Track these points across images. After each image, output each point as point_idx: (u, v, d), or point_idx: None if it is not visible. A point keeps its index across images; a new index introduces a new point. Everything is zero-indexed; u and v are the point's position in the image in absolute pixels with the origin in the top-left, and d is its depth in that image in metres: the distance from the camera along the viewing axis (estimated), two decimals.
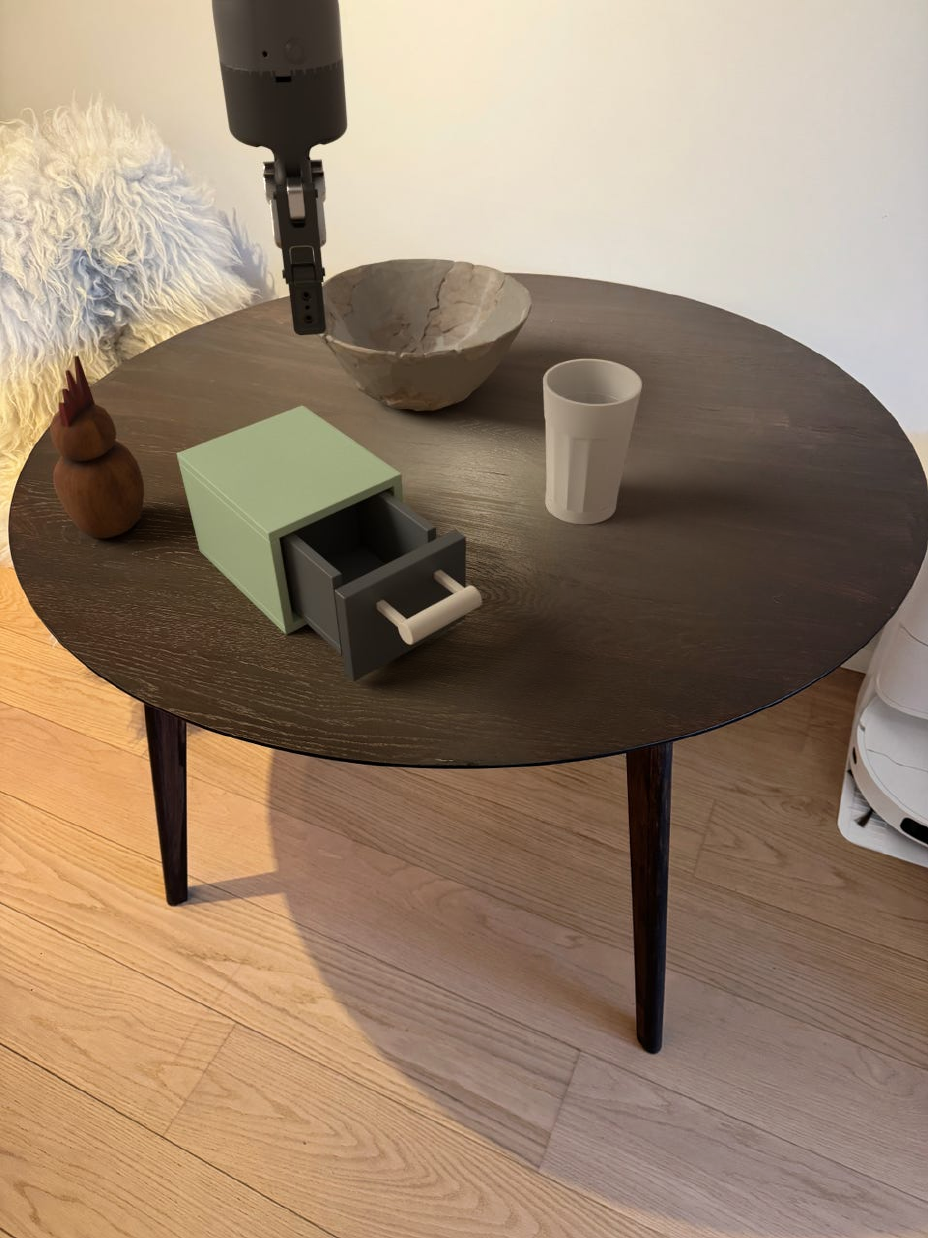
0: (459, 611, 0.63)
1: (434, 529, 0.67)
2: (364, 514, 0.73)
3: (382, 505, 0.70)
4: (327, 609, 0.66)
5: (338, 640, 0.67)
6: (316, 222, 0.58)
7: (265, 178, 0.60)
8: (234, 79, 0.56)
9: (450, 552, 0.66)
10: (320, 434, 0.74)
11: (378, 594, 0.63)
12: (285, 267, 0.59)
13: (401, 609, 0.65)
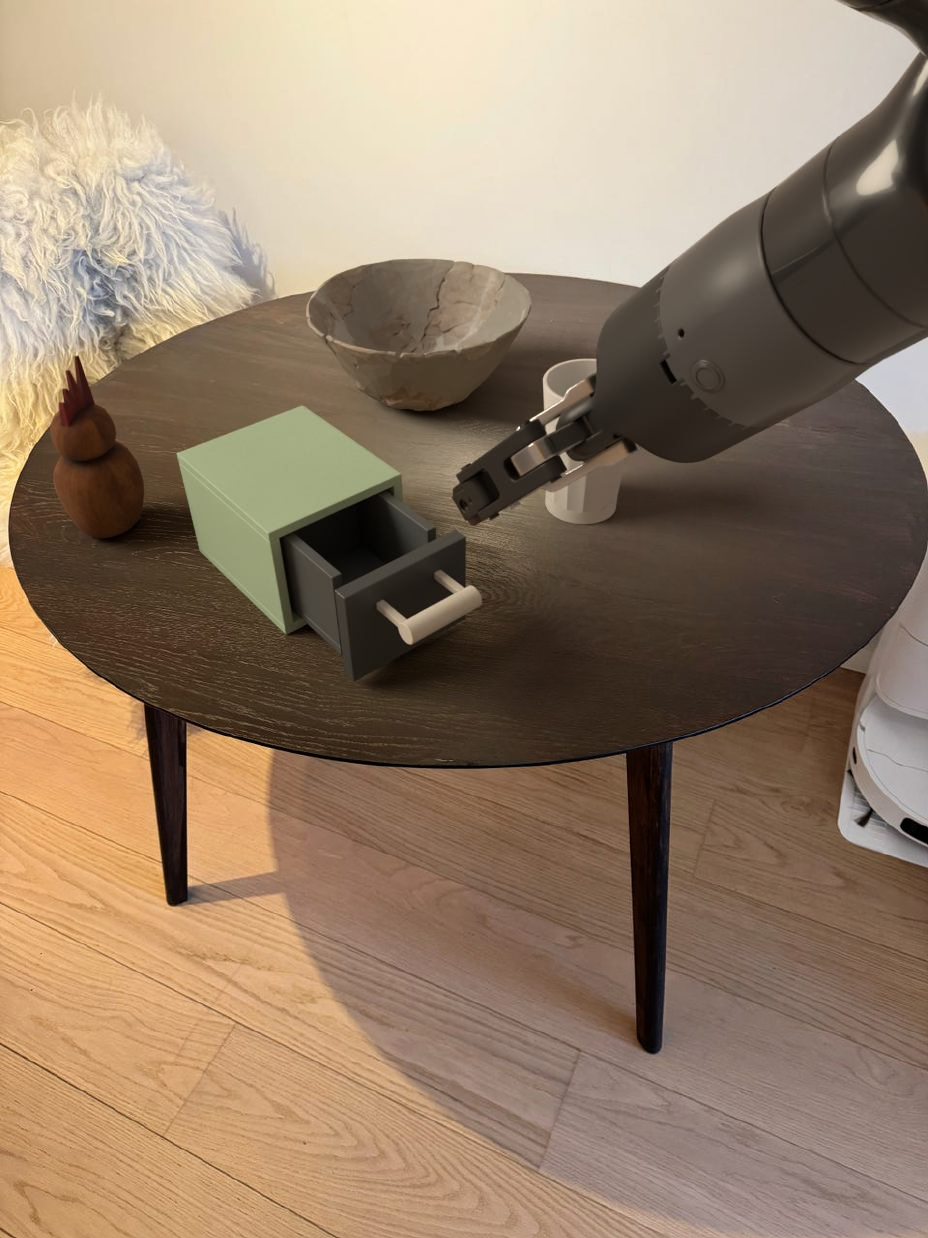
0: (459, 611, 0.63)
1: (434, 529, 0.67)
2: (364, 514, 0.73)
3: (382, 505, 0.70)
4: (327, 609, 0.66)
5: (338, 640, 0.67)
6: (523, 493, 0.40)
7: (587, 379, 0.41)
8: (649, 295, 0.36)
9: (450, 552, 0.66)
10: (320, 434, 0.74)
11: (378, 594, 0.63)
12: (465, 470, 0.42)
13: (401, 609, 0.65)
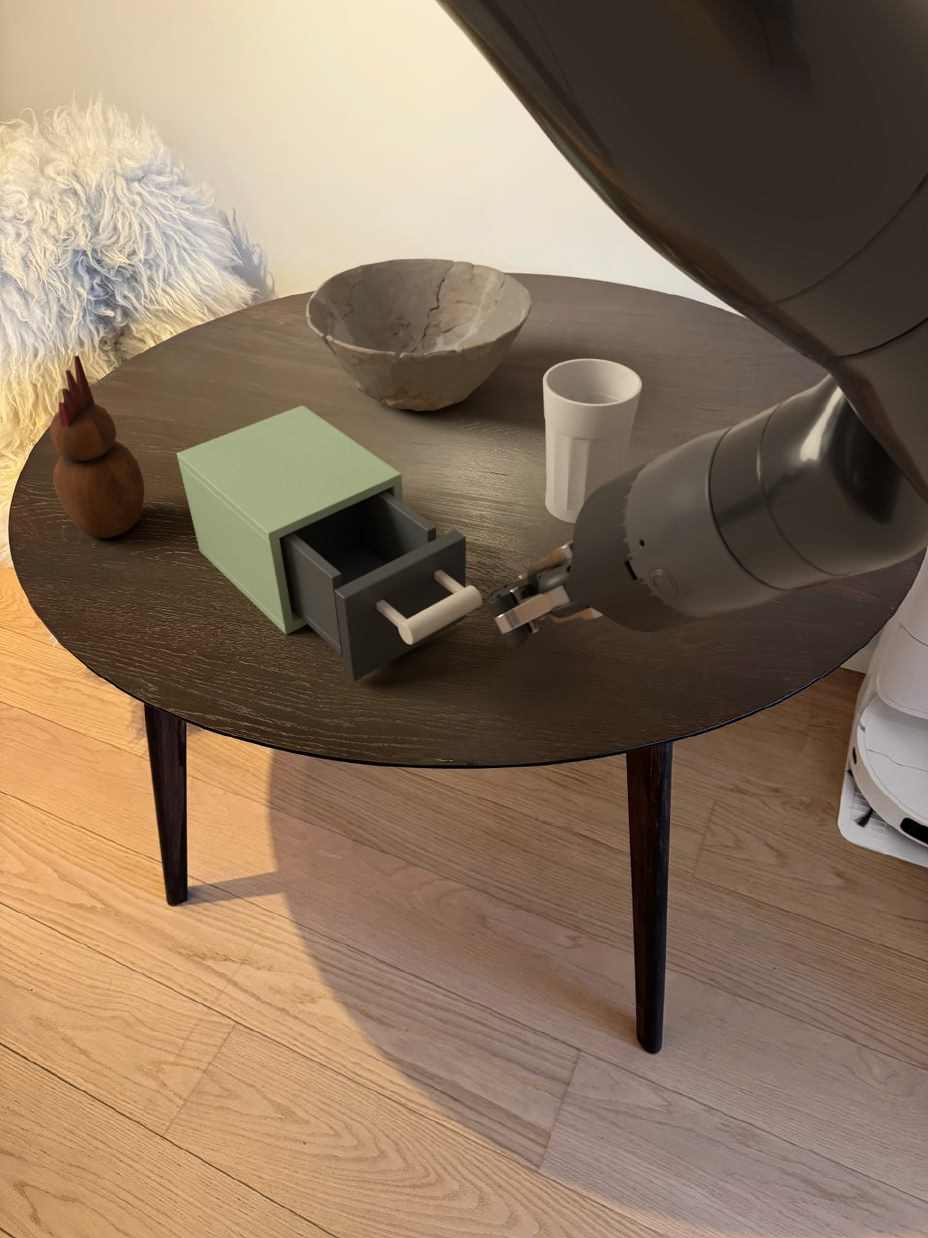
0: (459, 611, 0.63)
1: (434, 529, 0.67)
2: (364, 514, 0.73)
3: (382, 505, 0.70)
4: (327, 609, 0.66)
5: (338, 640, 0.67)
6: None
7: (560, 549, 0.46)
8: (619, 499, 0.40)
9: (450, 552, 0.66)
10: (320, 434, 0.74)
11: (378, 594, 0.63)
12: None
13: (401, 609, 0.65)
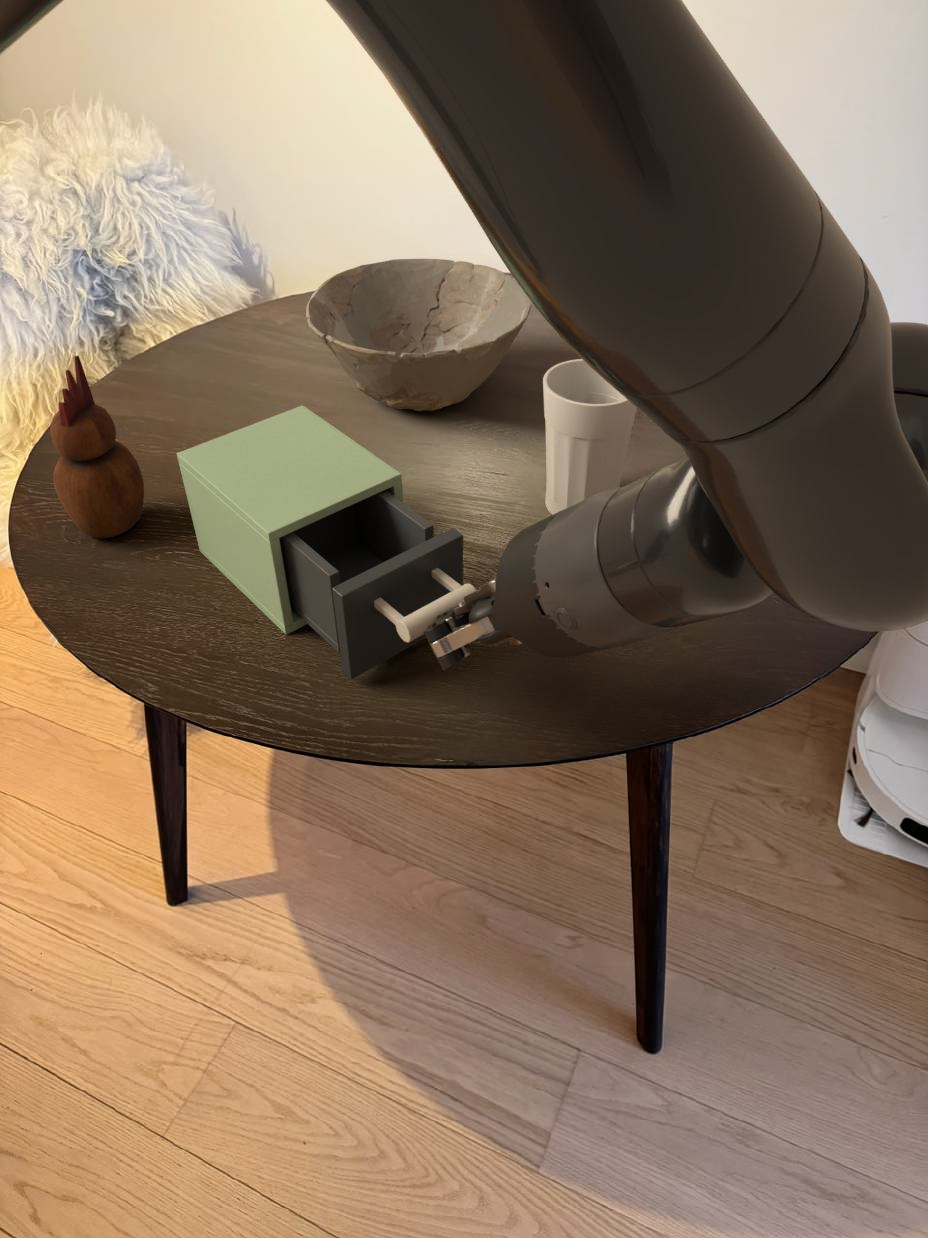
0: None
1: (431, 527, 0.67)
2: (362, 512, 0.74)
3: (380, 503, 0.71)
4: (325, 607, 0.66)
5: (336, 638, 0.67)
6: None
7: (489, 584, 0.53)
8: (531, 545, 0.47)
9: (447, 550, 0.66)
10: (320, 434, 0.74)
11: (375, 592, 0.63)
12: (434, 622, 0.56)
13: (398, 607, 0.66)
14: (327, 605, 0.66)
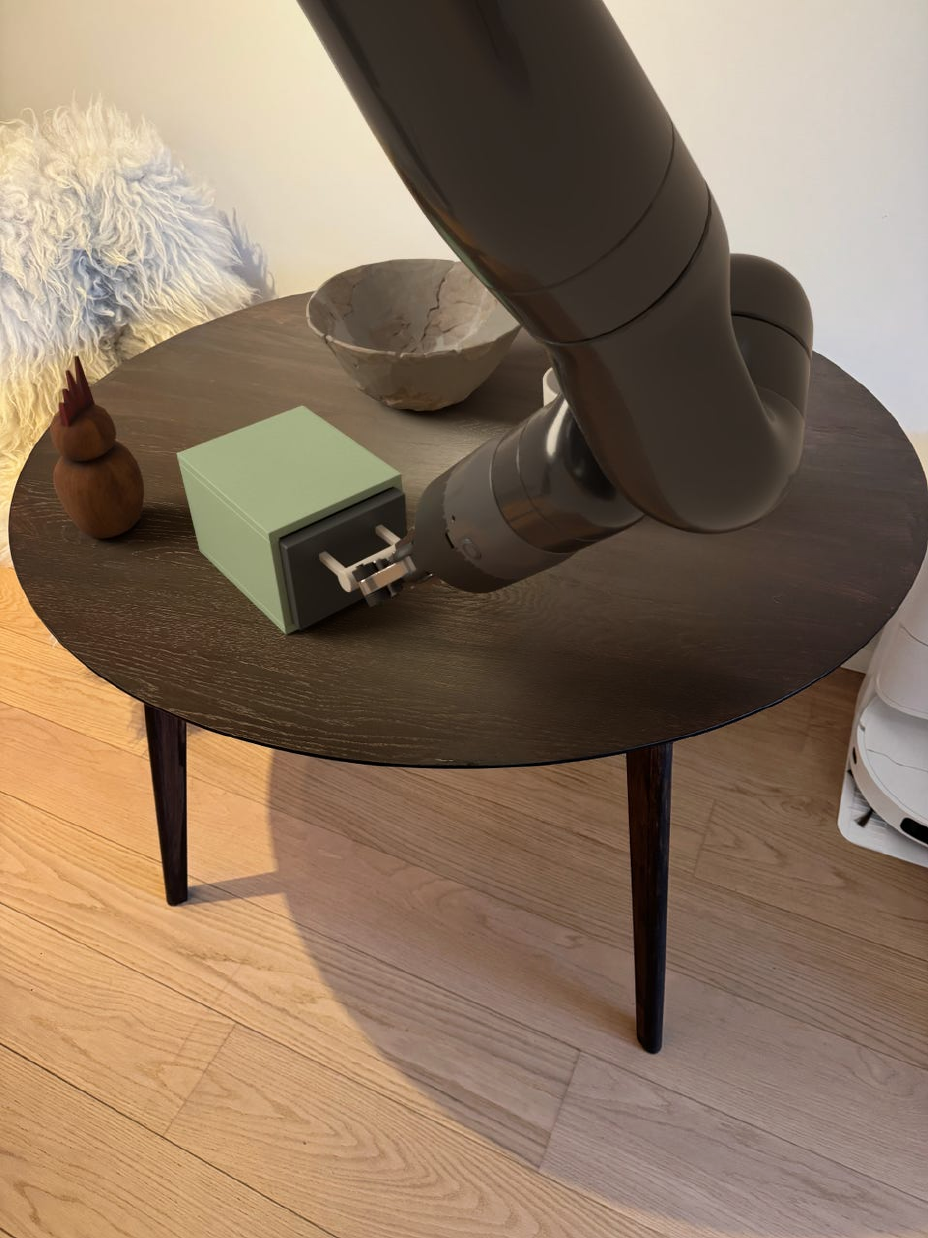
0: None
1: None
2: None
3: None
4: None
5: None
6: None
7: (413, 528, 0.56)
8: (442, 484, 0.51)
9: (390, 508, 0.70)
10: (320, 434, 0.74)
11: (320, 545, 0.67)
12: None
13: (344, 562, 0.69)
14: None
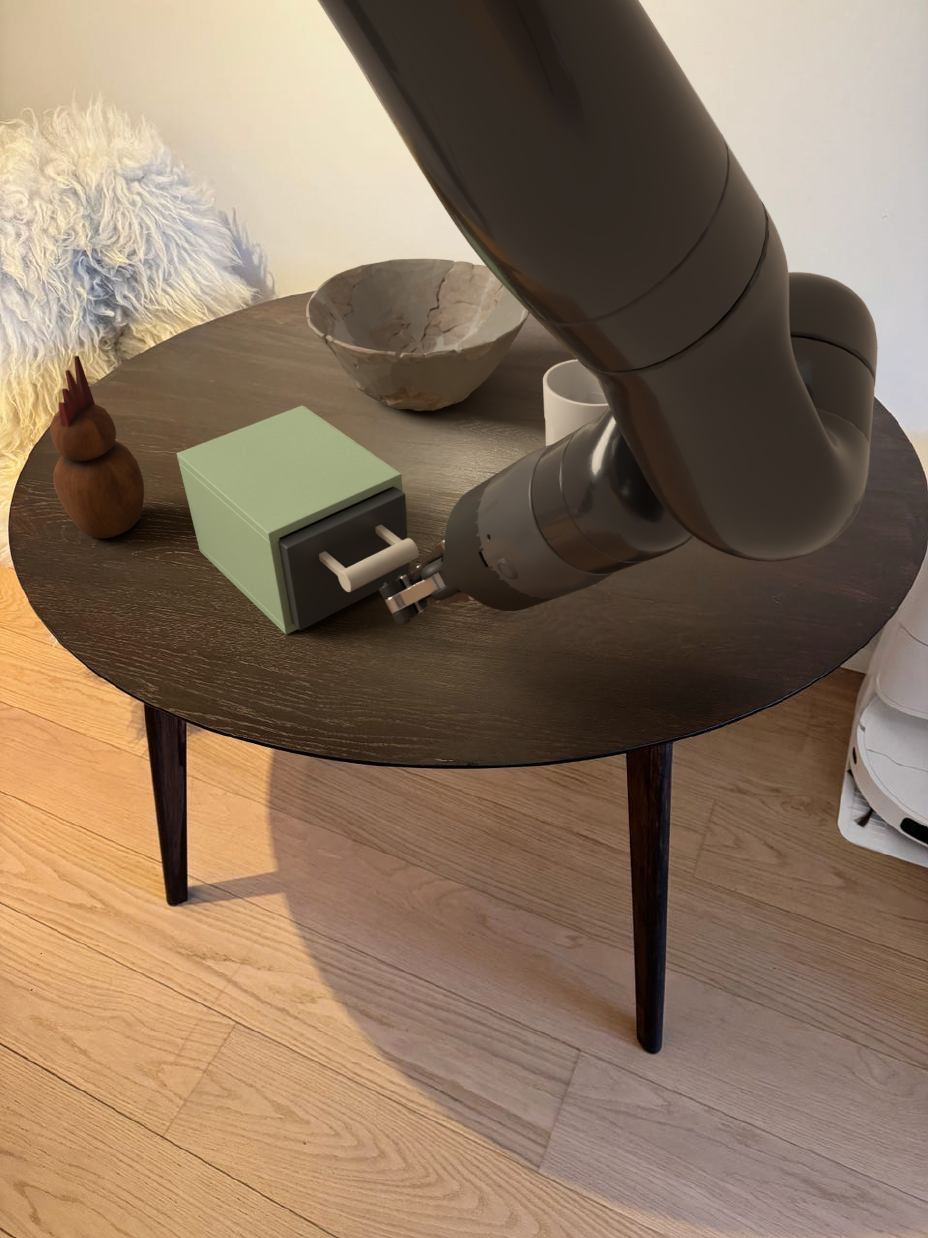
0: (396, 561, 0.67)
1: None
2: None
3: None
4: None
5: None
6: None
7: (441, 543, 0.55)
8: (475, 501, 0.49)
9: (390, 508, 0.70)
10: (320, 434, 0.74)
11: (320, 545, 0.67)
12: None
13: (344, 562, 0.69)
14: None
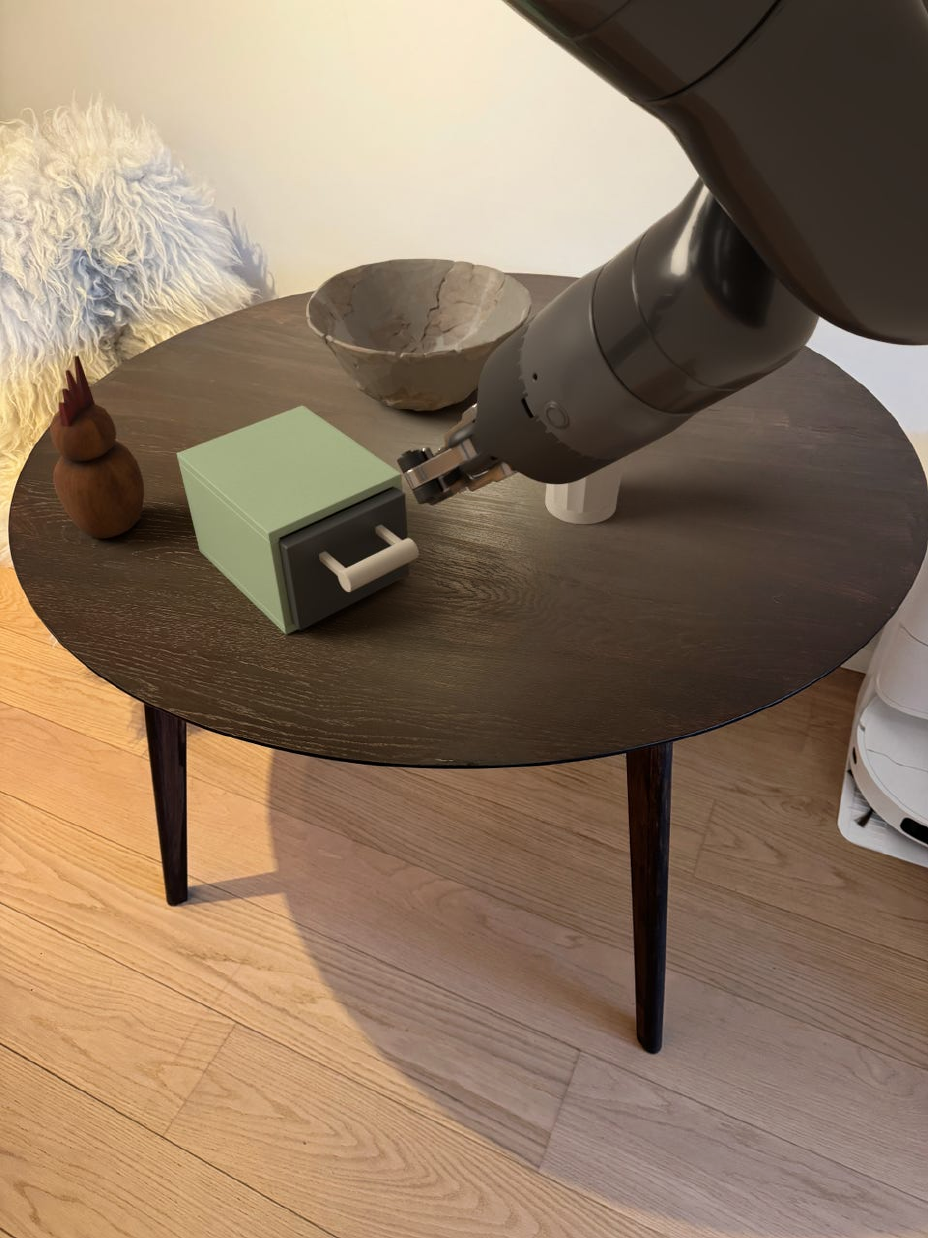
0: (396, 561, 0.67)
1: None
2: None
3: None
4: None
5: None
6: None
7: (471, 409, 0.47)
8: (517, 340, 0.41)
9: (390, 508, 0.70)
10: (320, 434, 0.74)
11: (320, 545, 0.67)
12: None
13: (344, 562, 0.69)
14: None
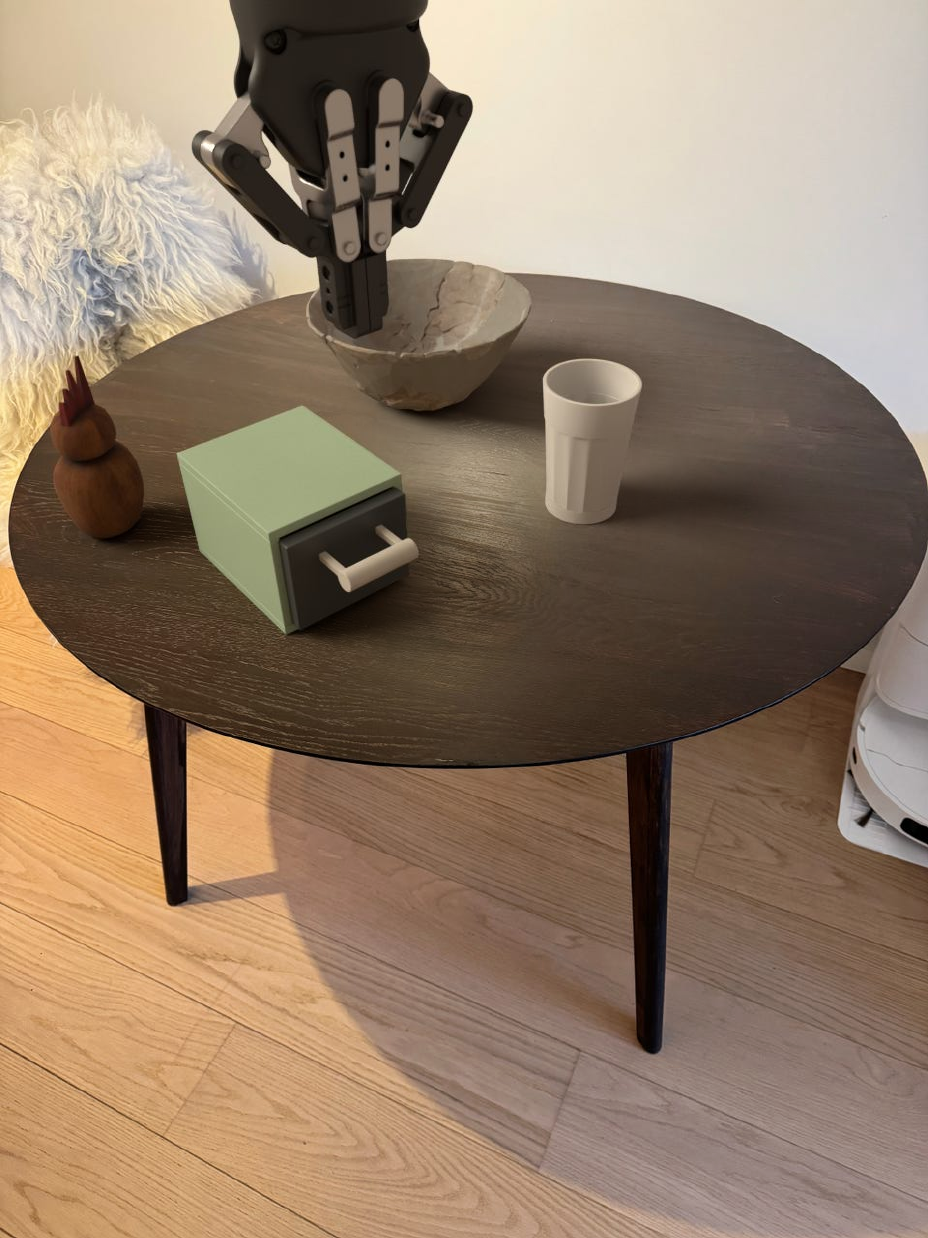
0: (396, 561, 0.67)
1: None
2: None
3: None
4: None
5: None
6: (252, 201, 0.37)
7: None
8: None
9: (390, 508, 0.70)
10: (320, 434, 0.74)
11: (320, 545, 0.67)
12: (266, 229, 0.40)
13: (344, 562, 0.69)
14: None
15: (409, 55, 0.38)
